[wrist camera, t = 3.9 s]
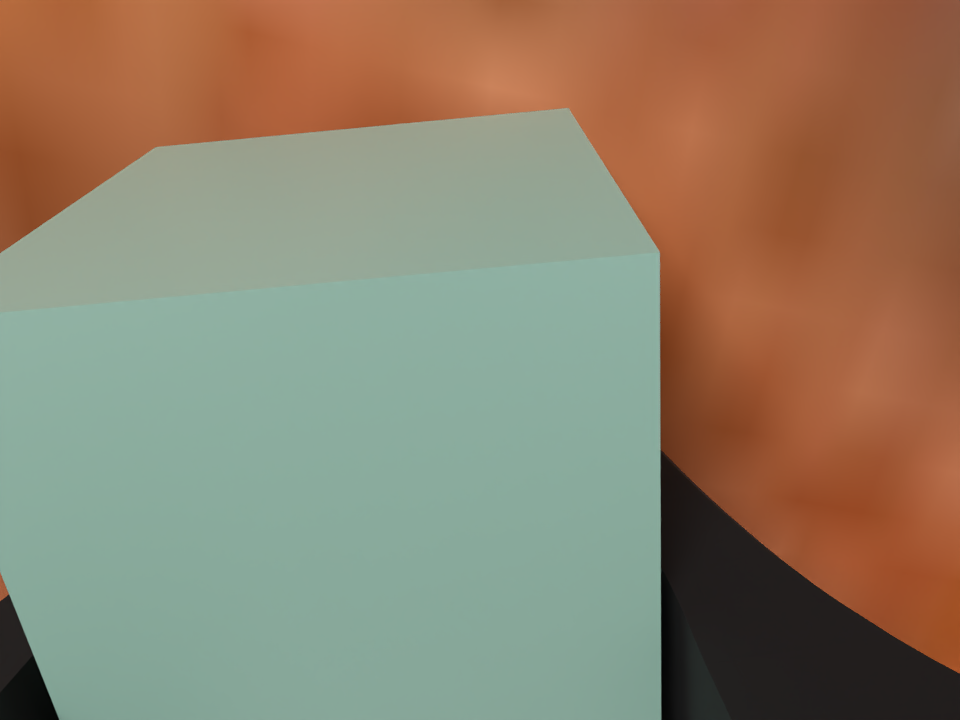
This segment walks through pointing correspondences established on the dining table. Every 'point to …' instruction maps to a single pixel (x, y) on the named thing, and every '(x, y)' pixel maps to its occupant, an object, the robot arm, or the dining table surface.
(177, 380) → the mint green cuboid
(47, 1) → the dining table surface
